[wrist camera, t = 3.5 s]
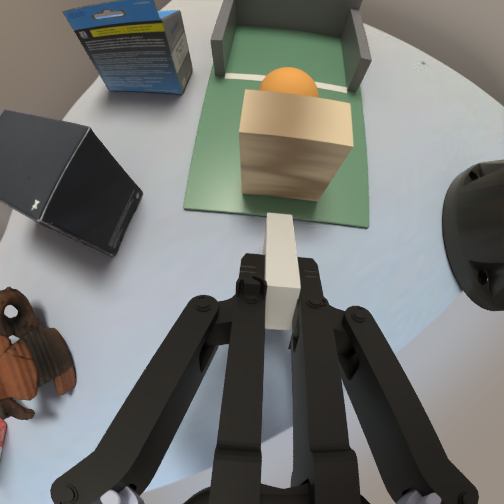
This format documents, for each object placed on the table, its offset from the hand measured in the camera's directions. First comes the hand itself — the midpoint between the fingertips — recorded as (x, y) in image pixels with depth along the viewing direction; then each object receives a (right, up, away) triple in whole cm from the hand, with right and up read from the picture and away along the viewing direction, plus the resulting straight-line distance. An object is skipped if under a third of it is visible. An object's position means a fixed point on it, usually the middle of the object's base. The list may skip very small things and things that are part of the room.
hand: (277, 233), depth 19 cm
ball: (+2, +11, +7) cm, 13 cm away
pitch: (+2, +13, +7) cm, 15 cm away
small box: (-16, +3, +6) cm, 18 cm away
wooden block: (+1, +5, +5) cm, 7 cm away
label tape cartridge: (-12, +17, +8) cm, 22 cm away
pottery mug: (-22, -11, +3) cm, 24 cm away
